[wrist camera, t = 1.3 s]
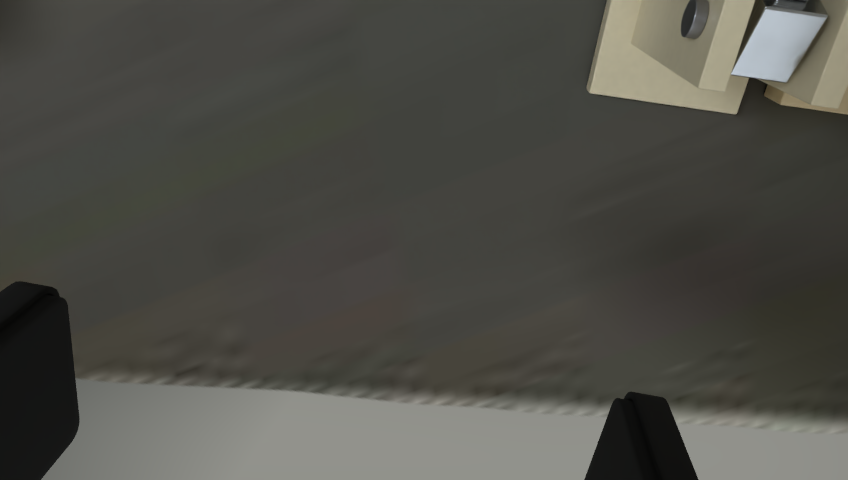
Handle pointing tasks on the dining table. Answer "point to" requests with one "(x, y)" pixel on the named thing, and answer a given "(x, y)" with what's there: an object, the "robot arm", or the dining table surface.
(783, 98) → the control box
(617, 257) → the dining table surface
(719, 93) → the switch bracket
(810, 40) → the switch lever
